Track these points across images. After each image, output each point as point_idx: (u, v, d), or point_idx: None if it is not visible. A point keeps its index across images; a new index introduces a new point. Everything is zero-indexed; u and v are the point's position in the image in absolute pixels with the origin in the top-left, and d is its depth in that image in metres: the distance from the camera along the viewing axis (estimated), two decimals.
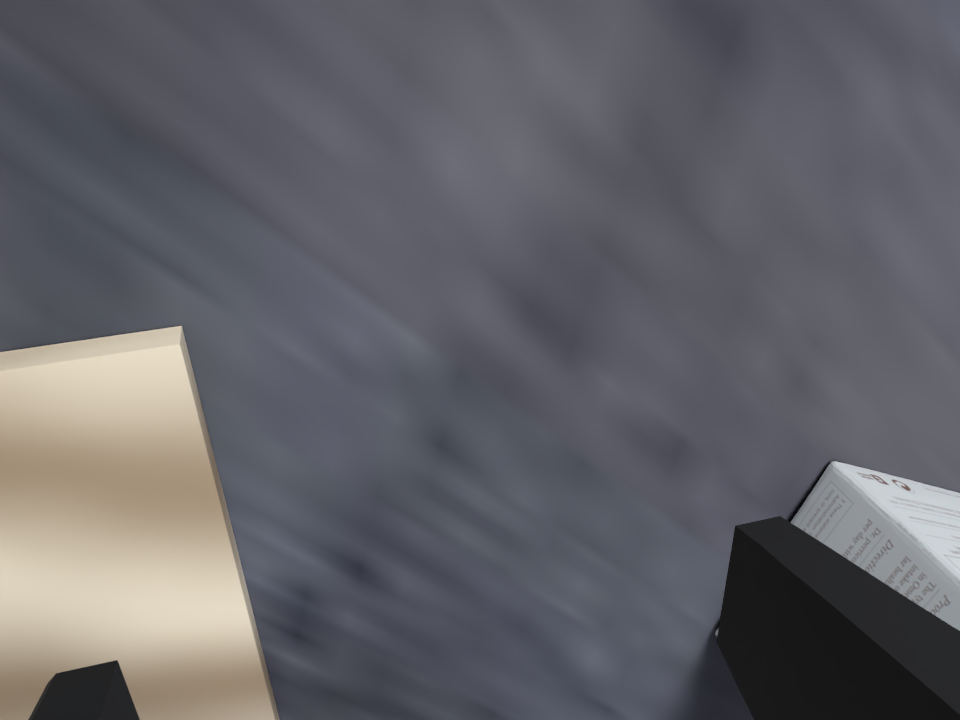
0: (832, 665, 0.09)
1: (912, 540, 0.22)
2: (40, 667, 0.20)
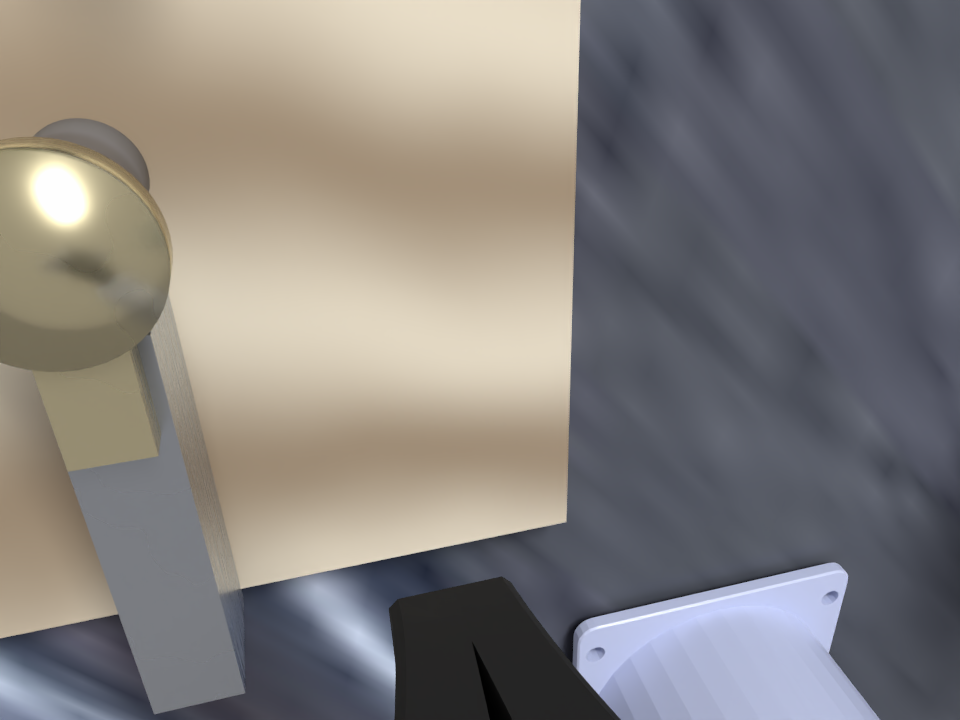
0: None
1: None
2: (284, 88, 0.13)
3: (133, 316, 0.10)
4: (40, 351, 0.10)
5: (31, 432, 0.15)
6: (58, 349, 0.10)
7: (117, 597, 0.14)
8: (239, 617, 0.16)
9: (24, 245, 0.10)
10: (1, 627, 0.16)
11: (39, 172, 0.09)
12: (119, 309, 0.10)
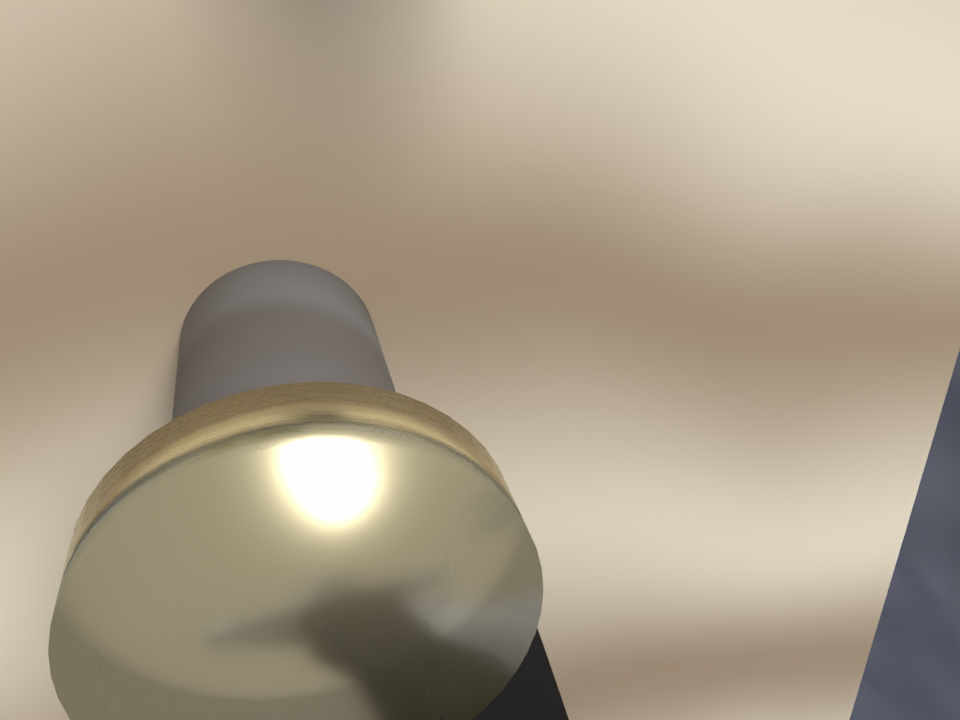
0: None
1: None
2: (597, 201, 0.08)
3: (459, 693, 0.05)
4: None
5: None
6: None
7: None
8: None
9: (287, 607, 0.05)
10: None
11: (339, 479, 0.04)
12: (438, 686, 0.05)
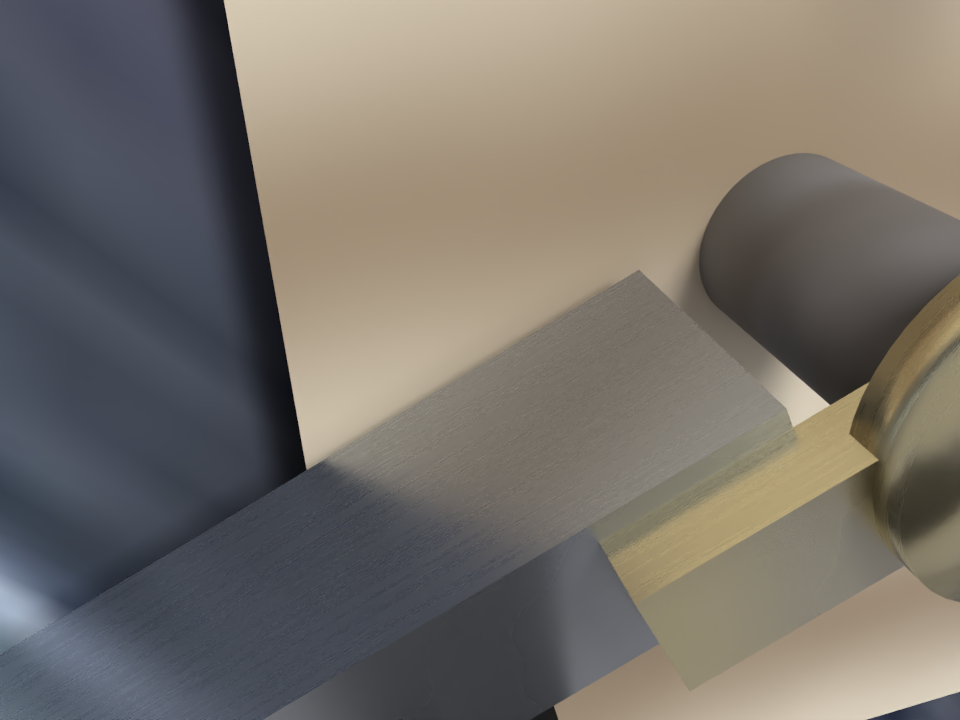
0: None
1: None
2: None
3: None
4: (945, 500, 0.05)
5: None
6: (947, 519, 0.05)
7: None
8: None
9: None
10: None
11: None
12: None
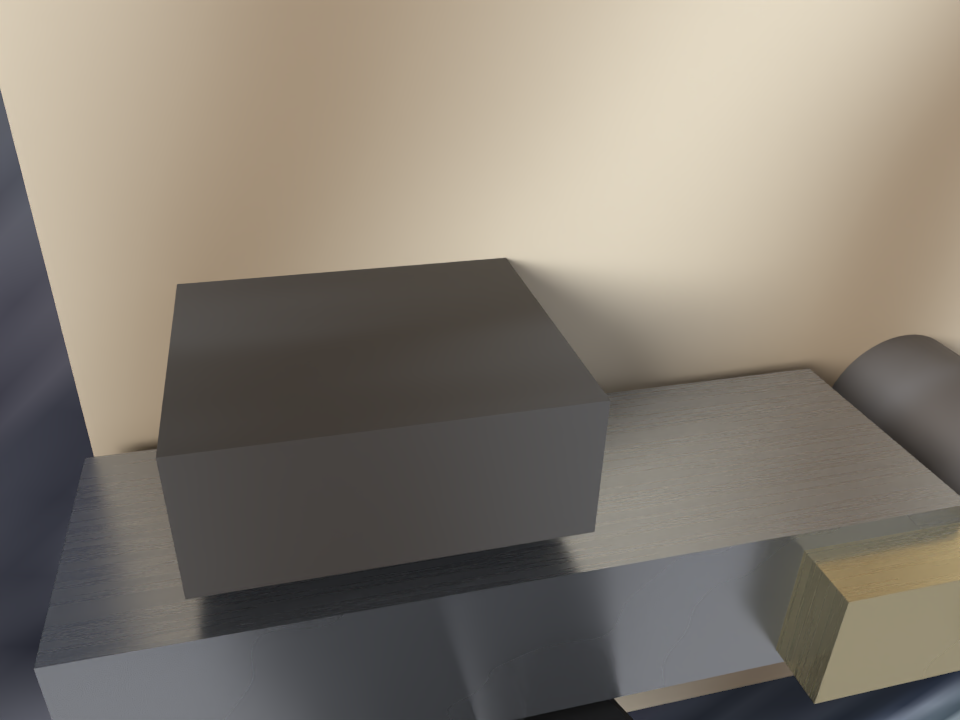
0: None
1: None
2: (880, 150, 0.08)
3: None
4: None
5: None
6: None
7: (457, 600, 0.06)
8: None
9: None
10: None
11: None
12: None
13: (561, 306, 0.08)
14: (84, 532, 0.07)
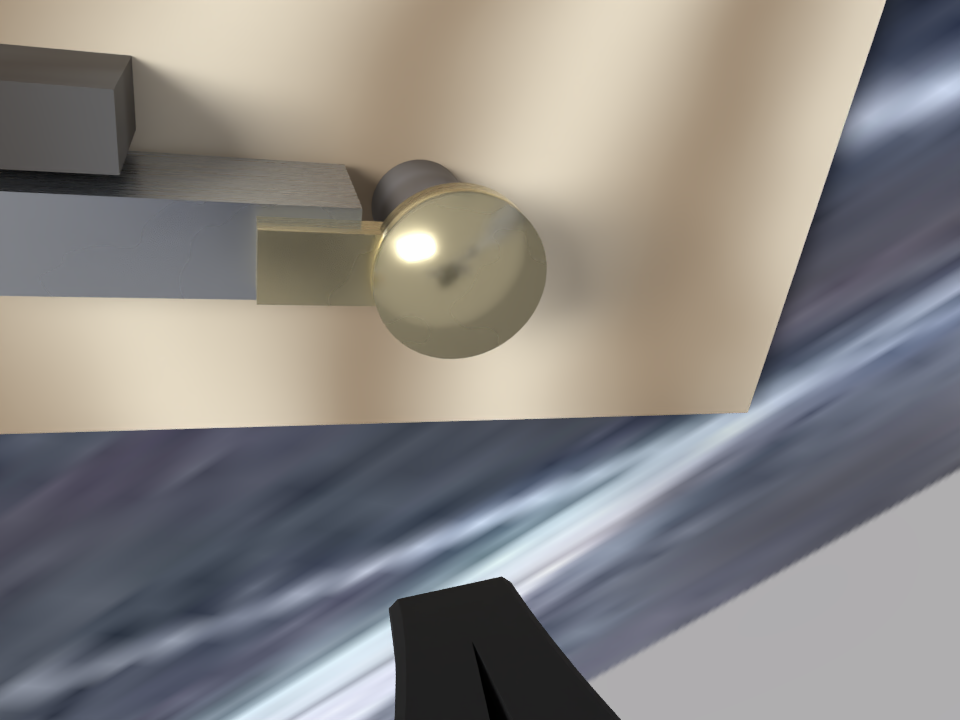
0: None
1: None
2: (375, 26, 0.14)
3: (409, 328, 0.13)
4: (397, 259, 0.13)
5: (603, 303, 0.18)
6: (394, 272, 0.13)
7: (36, 197, 0.12)
8: None
9: (481, 274, 0.13)
10: (751, 372, 0.20)
11: (527, 298, 0.14)
12: (417, 320, 0.13)
13: (172, 95, 0.14)
14: None
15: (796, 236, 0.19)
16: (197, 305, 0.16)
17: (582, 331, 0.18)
